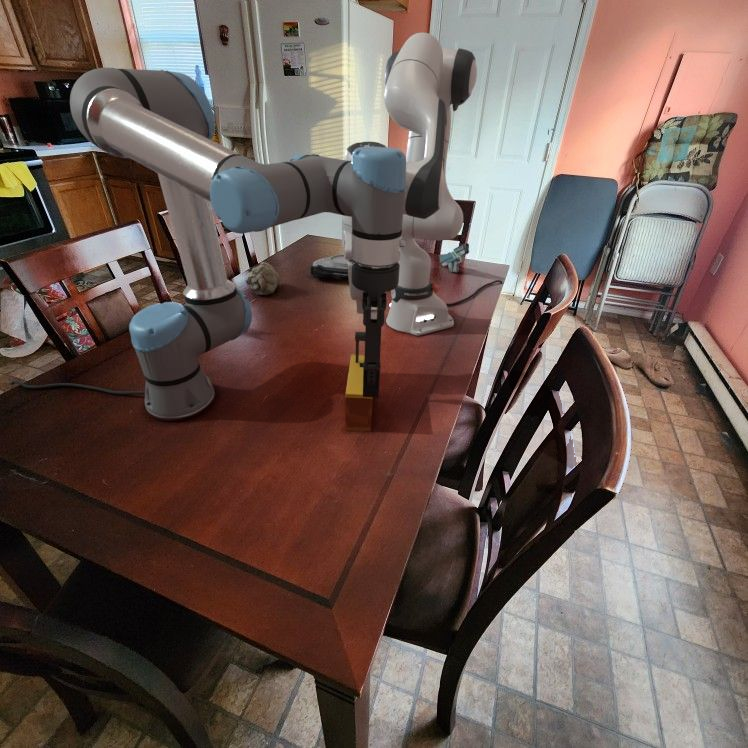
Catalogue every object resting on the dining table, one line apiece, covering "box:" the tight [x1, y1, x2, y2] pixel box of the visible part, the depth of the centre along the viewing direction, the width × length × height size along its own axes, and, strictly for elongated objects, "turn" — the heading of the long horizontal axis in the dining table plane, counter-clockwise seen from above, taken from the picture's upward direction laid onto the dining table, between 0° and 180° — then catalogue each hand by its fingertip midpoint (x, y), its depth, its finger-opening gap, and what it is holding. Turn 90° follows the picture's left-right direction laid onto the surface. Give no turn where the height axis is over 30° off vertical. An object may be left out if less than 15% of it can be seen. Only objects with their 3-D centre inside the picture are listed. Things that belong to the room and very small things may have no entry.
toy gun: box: [439, 243, 470, 273], centre depth 173 cm, size 4×19×10 cm
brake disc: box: [310, 254, 349, 282], centre depth 171 cm, size 32×30×5 cm
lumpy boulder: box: [245, 261, 281, 296], centre depth 151 cm, size 11×11×15 cm
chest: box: [345, 396, 374, 432], centre depth 96 cm, size 15×6×9 cm, turn 178°
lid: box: [345, 331, 373, 400], centre depth 91 cm, size 16×6×9 cm, turn 178°
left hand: (371, 373), depth 76 cm, fingers open, 13 cm apart
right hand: (362, 302), depth 89 cm, fingers open, 8 cm apart
